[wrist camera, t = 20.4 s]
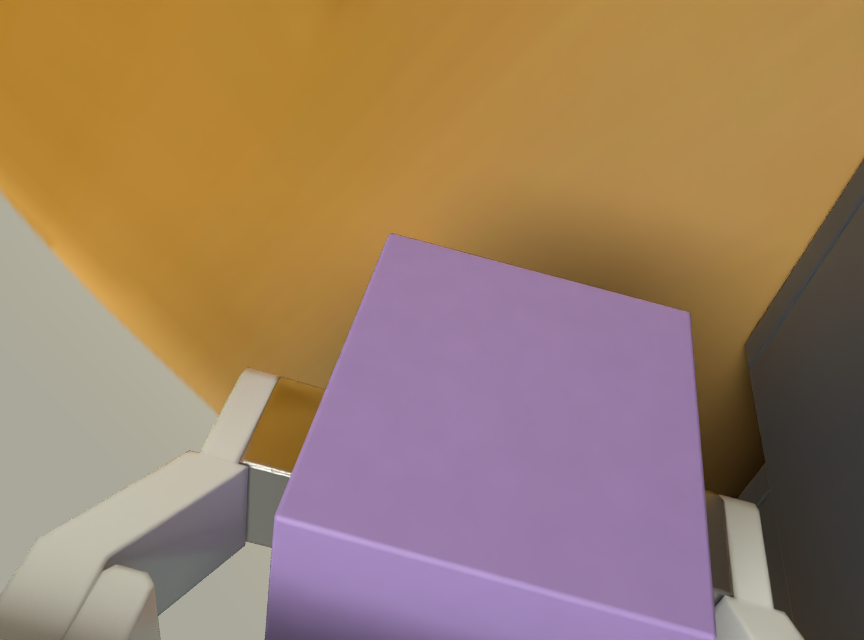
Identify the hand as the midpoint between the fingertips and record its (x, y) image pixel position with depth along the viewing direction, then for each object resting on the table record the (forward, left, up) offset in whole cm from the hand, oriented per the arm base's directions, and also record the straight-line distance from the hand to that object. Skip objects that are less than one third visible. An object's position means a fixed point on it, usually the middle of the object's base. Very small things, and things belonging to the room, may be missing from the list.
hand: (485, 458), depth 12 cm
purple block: (0, 0, -2) cm, 2 cm away
